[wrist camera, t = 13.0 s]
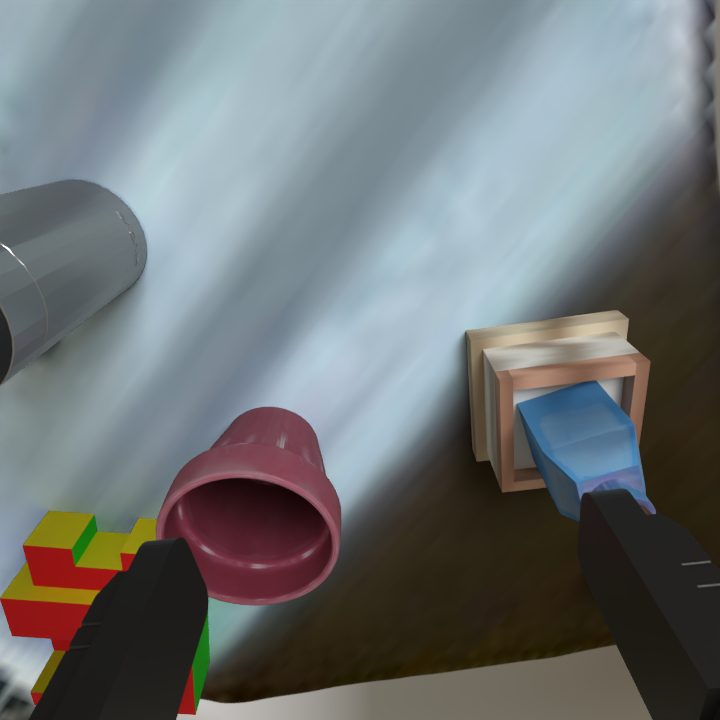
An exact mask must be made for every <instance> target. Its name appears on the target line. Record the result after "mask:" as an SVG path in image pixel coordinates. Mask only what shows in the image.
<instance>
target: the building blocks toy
mask: <svg viewBox="0 0 720 720" xmlns="http://www.w3.org/2000/svg"><path fill="white" fill-rule="evenodd" d="M156 523H157V520H156V519H144V518H138V520H137V522H136V524H135V526H134V528H133V530H132V531H131V533H130V534H123V533H111V532H99V531H97V528H96V522H95V516H94V514H83V513H71V512H59V511H49V512H48V513H47V514H46V516H45V517H44V518H43V519H42V521H41V522H40V523H39V525H38V526H37V527H36V528H35V530H34V531H33V532H32V534H31V535H30V536H29V538H28V539H27V540H26V541H25V543H24V544H23V549H24V552H25V556H26V560H27V562H26V563H25V565H24V566H23V567H22V569H21V570H20V572H19V573H18V574H17V576H16V577H15V578H14V580H13V581H12V582H11V584H10V585H9V586H8V588H7V589H6V591H5V592H4V593H3V595H2V596H1V597H0V600H1V603H2V606H3V609H4V612H5V615H6V618H7V622H8V625H9V628H10V631H11V634H12V636H21V637H35V638H50V639H51V640H52V644H53V648H54V651H53V653H52V655H51V657H50V659H49V660H48V662H47V664H46V666H45V667H44V669H43V671H42V673H41V675H40V676H39V678H38V680H37V682H36V683H35V685H34V687H33V689H32V690H31V695H32V698H33V702H34V705H37V703H38V702H39V700H40V698H41V696H42V694H43V692H44V690H45V689H46V687H47V685H48V683H49V681H50V679H51V678H52V676H53V674H54V672H55V670H56V668H57V666H58V665H59V663H60V661H61V659H62V657H63V655H64V654H65V652H66V651H68V650H69V644H70V642H71V641H72V639H73V637H74V635H75V633H76V631H77V630H78V628H81V626H82V623H81V622H82V620H83V618H84V617H85V615H86V613H87V611H88V609H89V607H90V606H91V604H92V602H93V600H94V598H95V596H96V595H97V594H98V593H99V592H100V591H101V590H102V588H103V587H104V586H105V585H106V584H107V583H108V582H109V581H110V580H111V579H112V578H113V577H114V576H115V575H116V573H117V572H119V571H127V570H128V569H129V567H130V565H131V563H132V561H133V559H134V557H135V555H136V553H137V551H138V549H139V547H140V546H141V545H142V544H143V543H144V542H146V541H153V540H156ZM209 663H210V657H209V629H208V612H207V617H206V621H205V624H204V628H203V631H202V634H201V638H200V641H199V644H198V648H197V651H196V654H195V658H194V661H193V664H192V668H191V671H190V674H189V678H188V681H187V684H186V688H185V691H184V694H183V698H182V701H181V704H180V708H179V711H178V714H193V715H195V714H196V711H197V707H198V704H199V700H200V696H201V693H202V689H203V685H204V681H205V678H206V674H207V670H208V667H209Z"/></svg>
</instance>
